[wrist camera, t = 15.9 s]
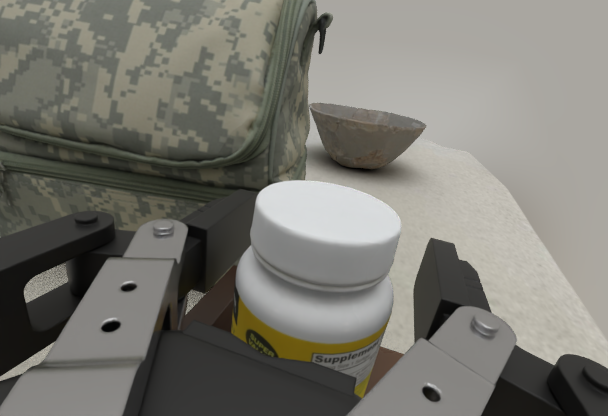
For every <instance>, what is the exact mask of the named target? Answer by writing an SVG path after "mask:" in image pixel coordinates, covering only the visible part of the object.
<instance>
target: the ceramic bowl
mask: <svg viewBox="0 0 608 416" xmlns="http://www.w3.org/2000/svg"><path fill="white" fill-rule="evenodd" d="M309 107H310V110H311V113H312V116H313V118H314V121H315V123H316V125H317V129H318V132H319V135H320V138H321V140H322V143H323V146H324V147H325V149H326V151H327V152H328V153H329V155H330V156H331V158H332V159H334V160H335V161H337V162H338V163H339V164H341V165H343V166H346V167H352V168H365V169H376V168H379V167H383V166H385V165H386V164H388V163H390V162H391V161H393V160H394V159H396V158H397V157H398V156H399V155H401V154H402V153H403V152H404V151H405V150H406V149H407V148H408V147H409V146H410V145H411V144H412V143H413V142H414V141H415V140H416V139H417V138H418V137H419V136H420V134H421V133H422V132H423V130H424V129H425V128H426V125H425V124H424V123H422V122H421V121H418V120H415V119H412V118H409V117H405V116H400V115H396V114H393V113H388V112H382V111H376V110H366V109H362V108H361V109H360V108H358V109H357V108H354V107H348V106H341V105H334V104H324V103H312V104H310V105H309Z"/></svg>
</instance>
